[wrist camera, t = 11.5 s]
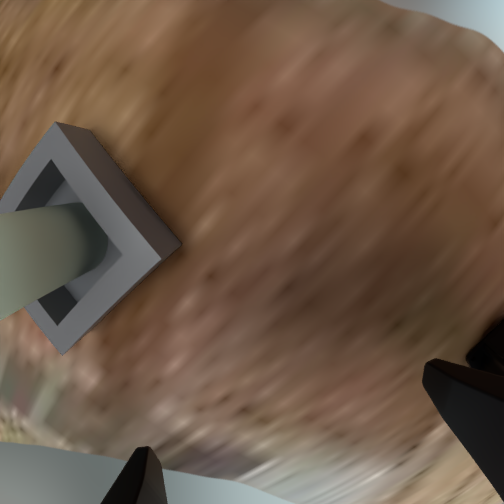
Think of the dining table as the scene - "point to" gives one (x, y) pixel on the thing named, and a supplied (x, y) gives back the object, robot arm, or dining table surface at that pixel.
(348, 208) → the dining table surface
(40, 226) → the peg
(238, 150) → the dining table surface
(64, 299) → the holder
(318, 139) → the dining table surface
